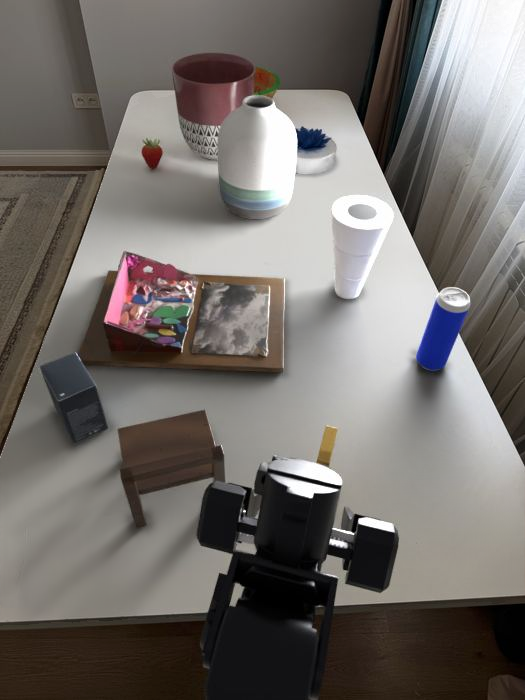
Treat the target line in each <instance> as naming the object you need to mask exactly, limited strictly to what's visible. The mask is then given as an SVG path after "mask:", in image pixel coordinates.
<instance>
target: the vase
mask: <svg viewBox="0 0 525 700" xmlns="http://www.w3.org/2000/svg"><path fill="white" fill-rule="evenodd" d="M295 128H296V127H295V125H294V124H293V121H292V120H291V119H290V117H288V116H287V115H286V114H285V113H284V112H282V111H281V110H280V109H278V108H277V107H276V105H275V101H274V99H273V98H272V99H271V98H269V97H267V96H262V95H253V96H248V97H246V98H244V100H243V102H242V106H241V107H239V108H237V109H236V110H234V111H233V112H231V113H230V114H229V115H228V116H227V117H226V118H225V119H224V121H223V122H222V124H221V127H220V130H219V133H218V142H217V143H218V160H217V173H218V175H217V176H218V190H219V196H220V199H221V200H222V203H223V205H224V206H225V207H226V209H228V211H229V212H231V213H232V214H235V215H236V216H238V217H241V218H244V219H245V218H246V219H249V220H264V219H268V218H269V219H270V218H272V217H275V216H277V215H280V214H281V213H282V212H283V211H285V209H287V207H288V206H289V204H290V203H291V201H292V200H291V199H292V196H293V193H294V186H295V177H296V176H295V175H296V173H295V165H296V153H297V136H296V132H295Z"/></svg>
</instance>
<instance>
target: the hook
mask: <svg viewBox="0 0 525 700" xmlns="http://www.w3.org/2000/svg"><path fill="white" fill-rule="evenodd" d="M338 430H339V428H337V427H333V426H329V425H326V426H325V428H324V431H323V435H322V439H321V443H320V447H319V450H318V455H317V458H316V463H317V464H321V465H325V466H328V467H330V465H331V460H332V457H333V451H334V448H335V444H336V440H337V436H338Z"/></svg>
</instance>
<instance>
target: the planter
mask: <svg viewBox="0 0 525 700" xmlns="http://www.w3.org/2000/svg"><path fill="white" fill-rule="evenodd" d="M171 73H172V74H171V75H172V83H173V88H174V95H175V105H176V111H177V117H178V123H179V128H180V131H181V134H182V137H183V139H184V140H185V143H186V144H187V145H188V146H189V148H190V149H191V150H192V151H193V152H195V153H196V154H197V155H199V156H200V157H202V158H204V159H205V158H206V159H209V160H217V161H218V143H217V142H218V133H219V130H220V127H221V124H222V122H223V121H224V119H225V118H226V117H227V116H228V115H229V114H230V113H231V112H233V111H234V110H236V109H237V108H239V107H241V106H242V102H243V100H244V98H246V97H248V96H253V95H254V85H255V64H254V63H253V62H252V61H251V60H249V59H247V58H246V57H242V56H239V55H235V54H232V53H225V52H201V53H195V54H194V53H193V54H189V55H187V56H183V57H181V58H179V59H178V60H176V61H175V62H173V65H172V66H171Z"/></svg>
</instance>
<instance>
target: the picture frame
mask: <svg viewBox="0 0 525 700" xmlns="http://www.w3.org/2000/svg"><path fill="white" fill-rule="evenodd" d="M147 267H149V268H152V269H151V271H145V270H144V269H145V268H147ZM285 286H286V278H284V277H283V278H282V277H265V276H245V275H244V276H243V275H241V276H240V275H220V274H197V273H189V272H187V271H184V270H181V269H179V268H176V266H175V265H173V264H171V263H167V264H166V263H162V262H160V261H158V260H154V259H152V258H149V257H146V256H142V255H139V254H137V253H134V252H130V251H127V250H123V252H122V255H121V257H120V260H119V264H118V268H117V270H108V271H107V274H106V277H105V280H104V281H103V285H102V288H101V290H100V293H99V296H98V299H97V302H96V303H95V307H94V310H93V312H92V315H91V318H90V320H89V322H88V325H87V328H86V331H85V334H84V335H83V339H82V341H81V344H80V347H79V349H78V351H77V355H78V357H79V358H80V360H81V362H82V363H83V365H84V366H106V367H107V366H108V367H131V368H135V367H136V368H157V369H158V368H159V369H161V368H162V369H181V370H182V369H183V370H184V369H187V370H209V371H211V370H212V371H234V372H235V371H236V372H259V373H260V372H262V373H282V374H283V373H284V359H285V356H284V355H285V354H284V352H285V350H284V347H285V346H284V345H285V297H286V296H285V290H286V289H285V288H286V287H285Z"/></svg>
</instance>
